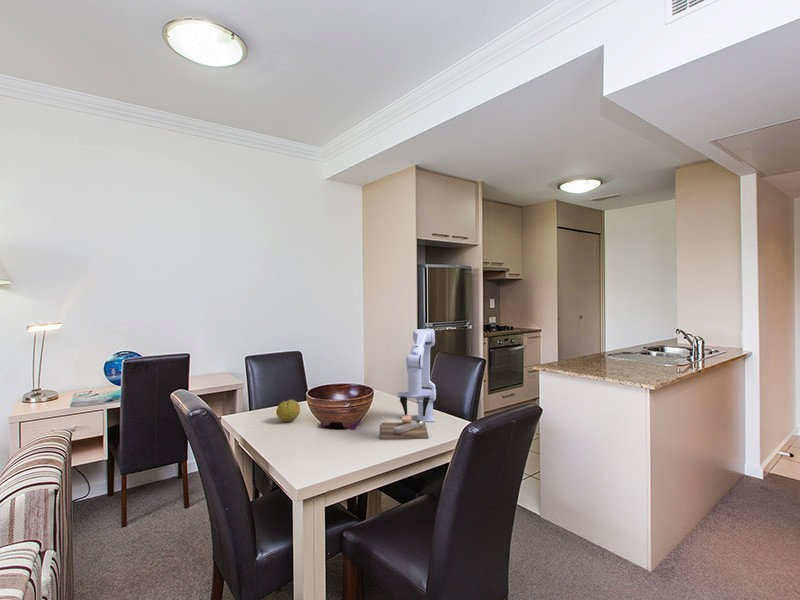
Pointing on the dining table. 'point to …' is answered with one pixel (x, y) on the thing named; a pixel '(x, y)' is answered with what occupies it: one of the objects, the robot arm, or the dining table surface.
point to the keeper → (408, 419)
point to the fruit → (288, 410)
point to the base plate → (411, 434)
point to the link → (408, 426)
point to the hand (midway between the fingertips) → (415, 415)
